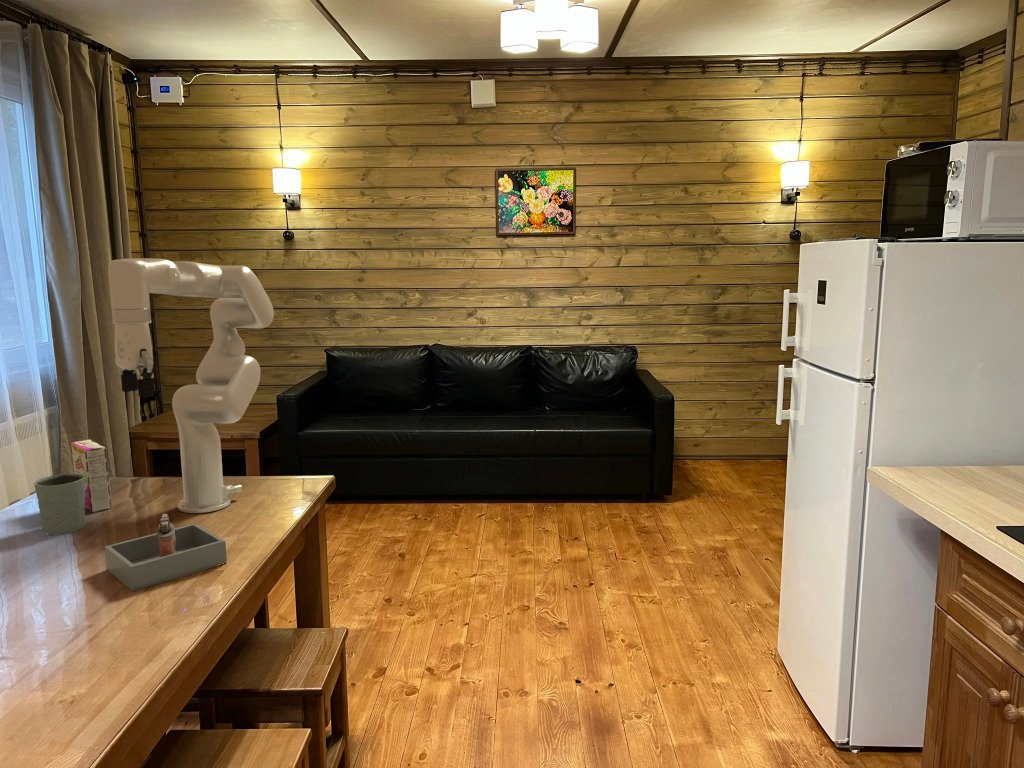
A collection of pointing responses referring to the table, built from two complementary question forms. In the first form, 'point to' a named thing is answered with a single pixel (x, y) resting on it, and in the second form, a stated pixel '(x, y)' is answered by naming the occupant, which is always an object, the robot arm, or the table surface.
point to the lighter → (166, 537)
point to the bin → (164, 557)
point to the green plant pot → (61, 503)
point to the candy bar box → (92, 473)
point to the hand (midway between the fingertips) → (138, 393)
